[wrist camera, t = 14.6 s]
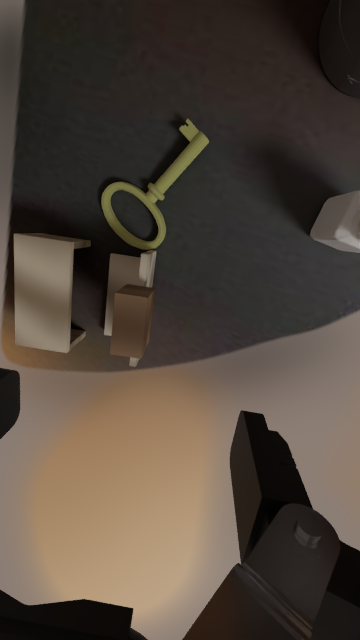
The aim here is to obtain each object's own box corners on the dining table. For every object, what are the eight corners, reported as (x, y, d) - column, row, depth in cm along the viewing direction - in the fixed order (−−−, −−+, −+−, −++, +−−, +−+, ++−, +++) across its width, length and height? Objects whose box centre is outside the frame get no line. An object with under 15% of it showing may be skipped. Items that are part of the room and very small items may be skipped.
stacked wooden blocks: (112, 244, 30) (77, 249, 22) (165, 252, 30) (152, 260, 22) (105, 340, 33) (71, 379, 25) (153, 347, 33) (137, 389, 25)
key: (213, 138, 28) (214, 131, 26) (155, 257, 31) (152, 259, 29) (144, 99, 28) (139, 88, 25) (93, 224, 31) (85, 224, 29)
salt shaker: (325, 196, 28) (386, 178, 19) (363, 212, 29) (441, 202, 20) (305, 236, 30) (353, 238, 20) (342, 252, 30) (405, 260, 21)
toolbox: (42, 233, 31) (13, 233, 26) (90, 240, 31) (71, 242, 26) (41, 328, 34) (15, 344, 29) (85, 335, 34) (66, 353, 29)
